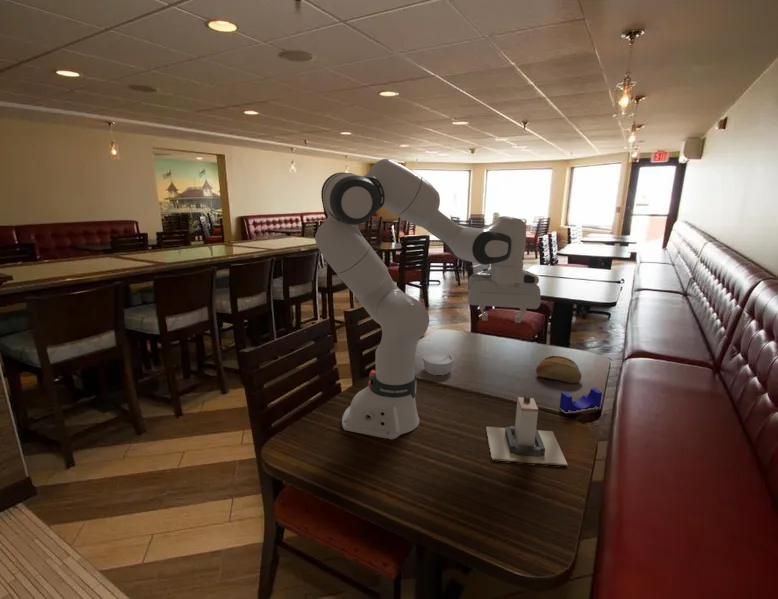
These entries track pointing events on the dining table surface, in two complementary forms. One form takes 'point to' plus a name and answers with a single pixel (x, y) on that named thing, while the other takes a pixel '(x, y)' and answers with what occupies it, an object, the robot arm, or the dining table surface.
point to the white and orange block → (526, 421)
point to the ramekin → (437, 363)
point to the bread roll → (559, 369)
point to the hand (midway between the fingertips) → (501, 321)
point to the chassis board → (524, 447)
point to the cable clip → (581, 401)
